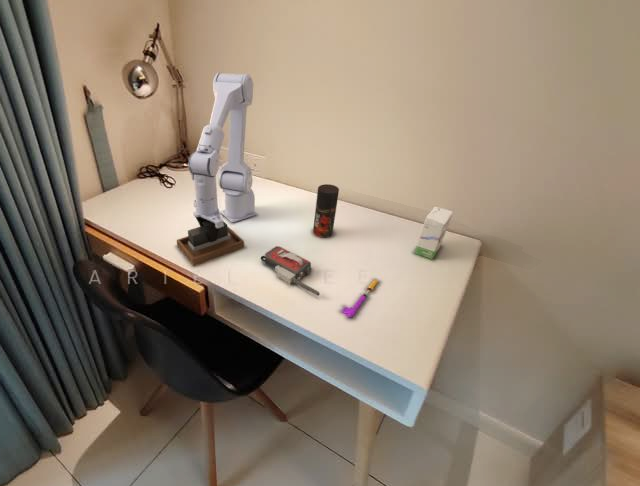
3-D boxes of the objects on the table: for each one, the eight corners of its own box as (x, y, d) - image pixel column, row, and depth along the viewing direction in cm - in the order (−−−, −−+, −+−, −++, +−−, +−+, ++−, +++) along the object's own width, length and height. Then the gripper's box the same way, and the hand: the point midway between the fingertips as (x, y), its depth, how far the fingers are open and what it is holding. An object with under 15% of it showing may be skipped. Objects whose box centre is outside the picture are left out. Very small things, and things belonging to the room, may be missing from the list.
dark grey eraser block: (224, 232, 107) (223, 218, 104) (230, 238, 104) (230, 224, 102) (188, 244, 102) (186, 230, 99) (194, 251, 99) (192, 236, 97)
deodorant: (336, 231, 110) (342, 188, 101) (325, 240, 106) (332, 195, 98) (319, 225, 113) (325, 182, 105) (309, 232, 109) (313, 189, 101)
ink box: (432, 260, 97) (445, 223, 90) (413, 253, 100) (425, 217, 93) (441, 246, 102) (454, 210, 96) (423, 240, 105) (434, 205, 98)
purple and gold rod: (351, 319, 80) (378, 282, 90) (351, 315, 79) (378, 278, 89) (340, 315, 81) (368, 280, 92) (340, 311, 81) (368, 276, 91)
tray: (225, 230, 112) (225, 223, 111) (244, 247, 104) (244, 241, 102) (177, 246, 105) (176, 239, 104) (193, 266, 97) (192, 259, 96)
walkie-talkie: (254, 265, 97) (316, 300, 85) (254, 252, 94) (317, 287, 82) (275, 251, 102) (335, 283, 90) (276, 238, 99) (338, 269, 87)
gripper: (182, 189, 98) (187, 230, 106) (205, 210, 88) (208, 254, 96) (204, 183, 101) (208, 223, 109) (229, 203, 91) (231, 246, 99)
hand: (209, 237), depth 102 cm, fingers closed on dark grey eraser block, 3 cm apart
